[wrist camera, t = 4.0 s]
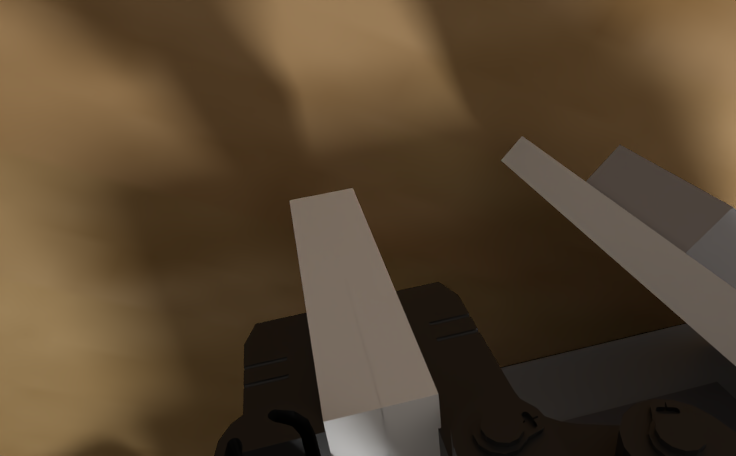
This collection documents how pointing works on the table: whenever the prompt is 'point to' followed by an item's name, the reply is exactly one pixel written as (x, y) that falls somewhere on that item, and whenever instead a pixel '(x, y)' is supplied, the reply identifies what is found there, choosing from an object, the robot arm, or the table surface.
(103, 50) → the table surface
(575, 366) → the grey box
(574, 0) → the table surface
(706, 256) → the side door
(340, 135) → the table surface
